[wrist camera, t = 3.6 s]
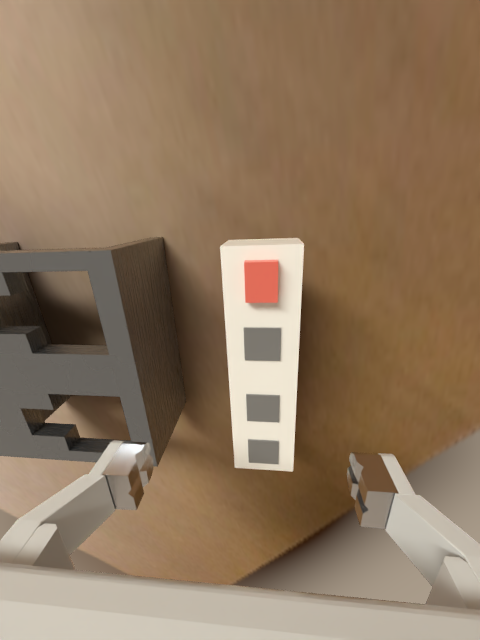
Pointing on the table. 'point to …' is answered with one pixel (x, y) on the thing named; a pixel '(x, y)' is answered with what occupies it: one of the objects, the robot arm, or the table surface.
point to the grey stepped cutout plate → (89, 351)
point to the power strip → (263, 347)
